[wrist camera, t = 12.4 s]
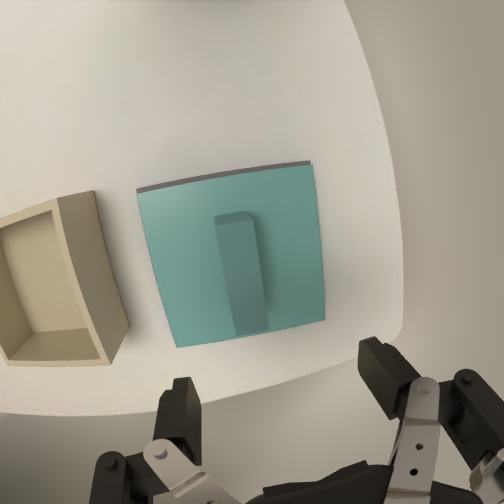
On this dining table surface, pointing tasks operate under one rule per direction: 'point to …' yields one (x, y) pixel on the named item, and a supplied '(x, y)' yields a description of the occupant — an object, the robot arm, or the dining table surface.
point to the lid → (236, 254)
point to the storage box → (58, 287)
